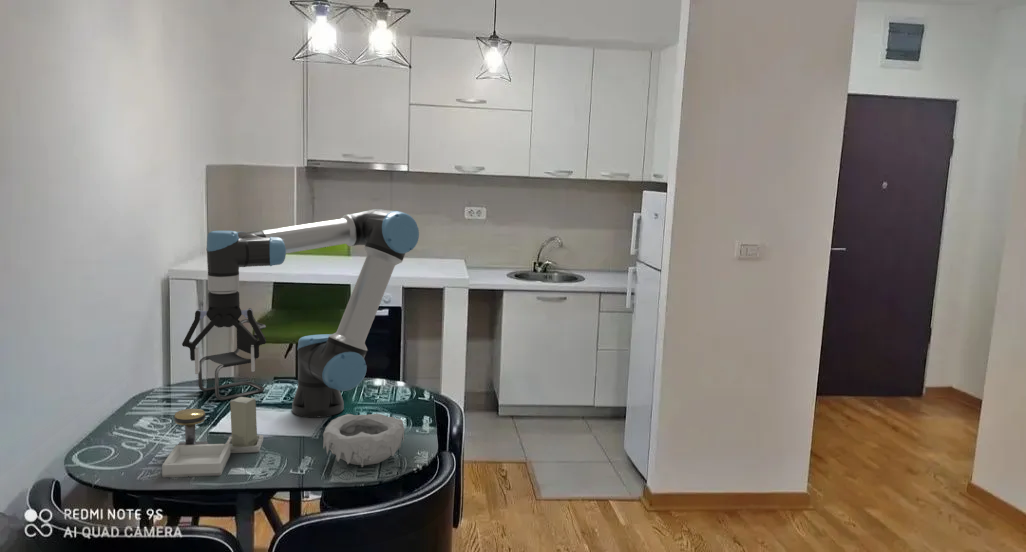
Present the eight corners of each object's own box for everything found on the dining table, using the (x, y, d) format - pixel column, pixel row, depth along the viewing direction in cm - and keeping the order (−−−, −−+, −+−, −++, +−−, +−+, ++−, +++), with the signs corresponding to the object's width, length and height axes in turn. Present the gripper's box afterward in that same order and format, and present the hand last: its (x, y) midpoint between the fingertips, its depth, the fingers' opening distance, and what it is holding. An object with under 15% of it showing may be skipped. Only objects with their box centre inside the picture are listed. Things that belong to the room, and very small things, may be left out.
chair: (268, 391, 248) (267, 325, 245) (216, 402, 235) (214, 332, 232) (249, 382, 257) (248, 318, 253) (198, 392, 244) (196, 325, 241)
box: (257, 445, 201) (257, 398, 200) (247, 451, 197) (246, 403, 195) (241, 442, 203) (240, 395, 201) (230, 447, 199) (229, 400, 197)
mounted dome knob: (208, 443, 201) (208, 408, 200) (202, 454, 194) (202, 417, 193) (178, 444, 200) (177, 408, 198) (171, 455, 193) (170, 418, 191)
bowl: (410, 472, 187) (411, 433, 186) (324, 479, 182) (324, 439, 180) (398, 442, 207) (399, 407, 206) (321, 448, 201) (321, 411, 200)
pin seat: (263, 440, 205) (263, 434, 205) (258, 452, 197) (258, 446, 197) (230, 441, 204) (229, 435, 203) (224, 453, 195) (224, 447, 195)
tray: (230, 454, 194) (230, 443, 194) (220, 475, 182) (220, 463, 181) (176, 456, 192) (175, 445, 192) (162, 477, 179) (162, 465, 179)
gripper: (275, 288, 203) (276, 365, 206) (173, 289, 196) (176, 369, 199) (274, 293, 195) (275, 373, 199) (168, 294, 189) (171, 377, 192)
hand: (225, 371), depth 199 cm, fingers open, 13 cm apart
